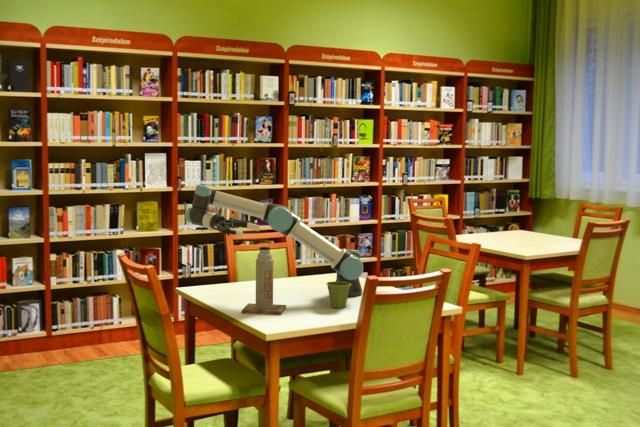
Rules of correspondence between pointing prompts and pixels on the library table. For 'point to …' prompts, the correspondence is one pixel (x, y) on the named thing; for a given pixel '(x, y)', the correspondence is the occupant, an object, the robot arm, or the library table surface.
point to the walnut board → (274, 311)
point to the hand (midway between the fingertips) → (250, 231)
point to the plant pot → (338, 293)
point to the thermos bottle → (264, 279)
